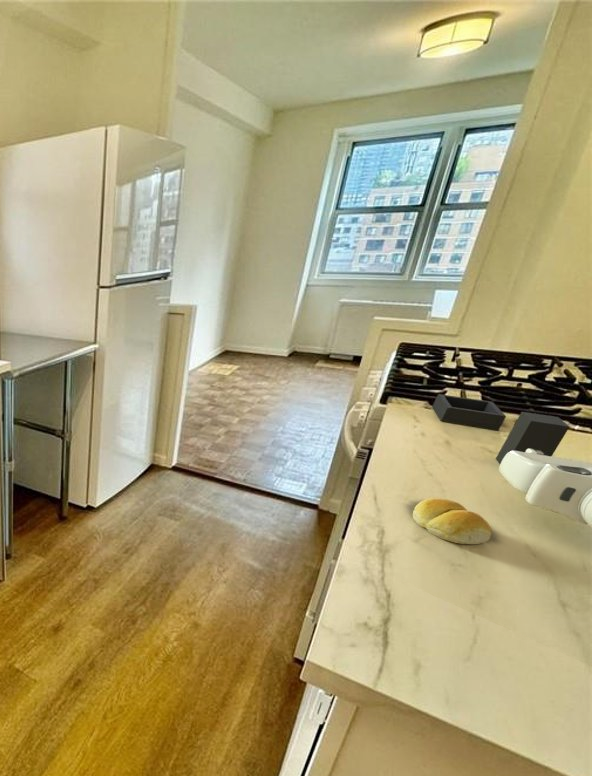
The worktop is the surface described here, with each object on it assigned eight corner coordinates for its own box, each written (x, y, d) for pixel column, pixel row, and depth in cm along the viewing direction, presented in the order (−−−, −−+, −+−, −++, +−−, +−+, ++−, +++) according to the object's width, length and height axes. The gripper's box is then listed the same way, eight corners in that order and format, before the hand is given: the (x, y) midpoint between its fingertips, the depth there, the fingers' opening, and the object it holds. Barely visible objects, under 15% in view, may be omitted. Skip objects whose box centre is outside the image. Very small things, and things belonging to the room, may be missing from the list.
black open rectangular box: (485, 415, 114) (492, 401, 112) (498, 430, 106) (506, 416, 105) (431, 407, 118) (438, 393, 117) (440, 421, 111) (447, 407, 109)
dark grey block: (530, 464, 93) (558, 416, 88) (539, 476, 89) (570, 426, 84) (495, 458, 95) (521, 411, 90) (503, 469, 91) (531, 420, 86)
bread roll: (444, 510, 79) (456, 490, 77) (497, 545, 71) (511, 523, 69) (395, 511, 78) (405, 490, 77) (443, 546, 70) (455, 524, 69)
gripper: (745, 500, 63) (672, 455, 74) (536, 465, 71) (498, 430, 82) (712, 538, 66) (646, 490, 77) (514, 501, 74) (480, 462, 85)
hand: (568, 459), depth 79 cm, fingers open, 8 cm apart
